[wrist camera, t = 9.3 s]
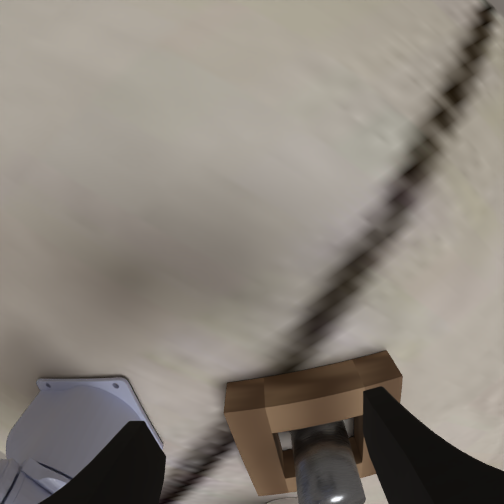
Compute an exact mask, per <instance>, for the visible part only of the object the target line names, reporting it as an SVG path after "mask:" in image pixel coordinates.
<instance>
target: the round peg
mask: <svg viewBox="0 0 504 504" xmlns="http://www.w3.org/2000/svg"><path fill="white" fill-rule="evenodd" d="M290 432H291V440H292V449H293V458H294V467H295V476H296V485H297V494H298V503H299V504H364V502H365V500H366V498H365V494H364V490H363V487H362V483H361V480H360V476H359V473H358V469H357V465H356V462H355V459H354V455H353V452H352V448H351V445H350V441H349V438H348V435H347V431H346V428H345V425H344V421H343V420H340V421H336V422H331V423H327V424H322V425H317V426H312V427H307V428H302V429H296V430H290Z"/></svg>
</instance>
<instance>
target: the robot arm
mask: <svg viewBox="0 0 504 504" xmlns="http://www.w3.org/2000/svg"><path fill="white" fill-rule="evenodd" d="M115 383H116V384H118V385H116V384H115ZM36 384H37V386H38V387H39V389H40V392H39V393H38V395H37V396H36V397H35V398H34V400H33V401H32V402H31V404H30V405H29V406H28V408H27V409H26V410H25V412H24V413H23V414H22V416H21V417H20V418H19V420H18V421H17V422H16V424H15V425H14V426H13V428H12V429H11V431H10V433H9V435H8V438H7V442H6V457H7V459H1V460H0V504H158V503H159V498H160V494H161V490H162V486H163V482H164V473H165V462H166V456H165V454H164V452H163V451H162V449H163V444H162V442H161V440H160V439H159V437H158V435H157V434H156V432H155V430H154V428H153V427H152V425H151V423H150V421H149V420H148V418H147V416H146V414H145V412H144V411H143V409H142V407H141V405H140V403H139V401H138V399H137V397H136V396H135V394H134V392H133V390H132V388H131V386H130V384H129V382H128V381H127V380H126V379H125V378H121V377H118V378H91V379H41V378H40V379H38V380H37V381H36ZM363 435H364V438H365V442H366V446H367V449H368V453H369V456H370V459H371V461H372V464H373V466H374V469H375V471H376V474H377V476H378V479H379V481H380V483H381V486H382V488H383V491H384V493H385V496H386V498H387V501H388V503H389V504H504V471H502V470H499V469H497V468H494V467H492V466H489V465H487V464H485V463H483V462H481V461H479V460H477V459H475V458H473V457H471V456H469V455H468V454H466V453H464V452H462V451H461V450H459V449H457V448H456V447H454V446H453V445H451V444H450V443H448V442H447V441H445V440H444V439H442V438H441V437H440V436H438V435H437V434H435V433H434V432H433V431H432V430H430V429H429V428H428V427H426V426H425V425H424V424H423V423H422V422H420V421H419V420H418V419H417V418H416V417H414V416H413V415H412V414H411V413H410V412H409V411H408V410H407V409H406V408H404V407H403V406H402V405H401V404H400V403H399V402H398V401H397V400H396V399H395V398H394V397H393V396H392V395H391V394H390V393H389V392H388V391H387V390H386V389H385V388H384V387H382V386H379V387H376V388H372V389H369V390H365V391H363Z"/></svg>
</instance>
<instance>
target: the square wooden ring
mask: <svg viewBox="0 0 504 504" xmlns="http://www.w3.org/2000/svg"><path fill="white" fill-rule="evenodd" d="M402 378H403V376H402V374H401V373H400V371H399V369H398V368H397V366H396V364H395V363H394V361H393V360H392V358H391V356H390V355H389V353H388V352H387V350H386V351H383V352H379V353H375V354H371V355H368V356H364V357H360V358H356V359H352V360H348V361H344V362H339V363H335V364H331V365H326V366H322V367H317V368H312V369H307V370H302V371H297V372H292V373H287V374H281V375H275V376H269V377H263V378H257V379H251V380H244V381H237V382H229V383H227V388H226V397H225V406H224V415H225V417H226V420H227V423H228V425H229V428H230V430H231V433H232V435H233V438H234V440H235V443H236V445H237V448H238V450H239V452H240V455H241V457H242V459H243V462H244V464H245V467H246V469H247V471H248V473H249V476H250V478H251V480H252V483H253V485H254V487H255V489H256V492H257V494H258V496H265V495H274V494H282V493H289V492H296V491H297V485H296V476H295V467H294V458H293V449H292V450H286V451H282V447H281V443H280V439H279V436H278V432H284V431H290V430H296V429H302V428H307V427H312V426H317V425H322V424H327V423H331V422H336V421H340V420H344V419H348V418H352V417H354V437H350V438H349V441H350V445H351V448H352V452H353V455H354V459H355V462H356V465H357V469H358V473H359V476H360V478H363V477H366V476H370V475H373V474H376V471H375V469H374V466H373V464H372V461H371V459H370V456H369V453H368V449H367V446H366V442H365V438H364V435H363V391H365V390H369V389H372V388H376V387H379V386H382V387H384V388H385V389H386V390H387V391H388V392H389V393H390V394H391V395H392V396H393V397H394V398H395V399H396V400H397V401H398V402H399V403H400V399H401V389H402Z"/></svg>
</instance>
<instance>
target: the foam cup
mask: <svg viewBox="0 0 504 504" xmlns="http://www.w3.org/2000/svg"><path fill="white" fill-rule="evenodd" d="M266 504H299V503H298V498H284V499H278V500H273V501H271V502H268V503H266Z"/></svg>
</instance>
